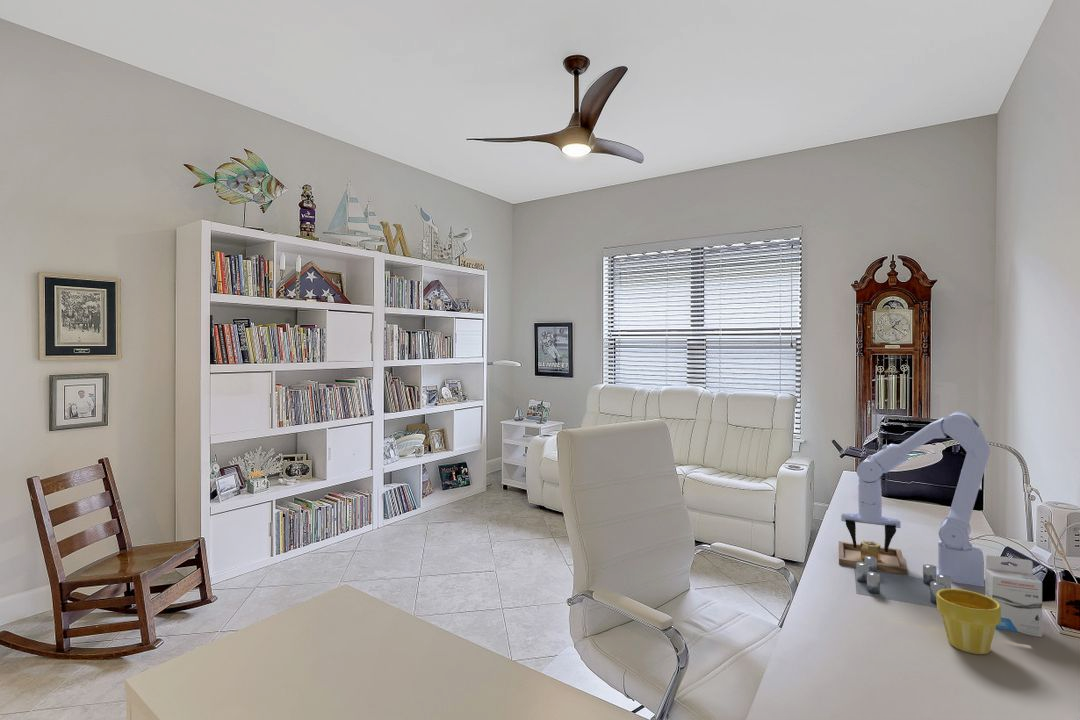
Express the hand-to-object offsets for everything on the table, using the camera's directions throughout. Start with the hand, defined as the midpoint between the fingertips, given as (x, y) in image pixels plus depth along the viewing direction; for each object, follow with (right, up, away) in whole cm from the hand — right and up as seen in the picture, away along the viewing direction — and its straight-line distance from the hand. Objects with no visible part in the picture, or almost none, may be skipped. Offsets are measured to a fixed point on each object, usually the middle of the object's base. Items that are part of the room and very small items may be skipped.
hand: (870, 548), depth 156 cm
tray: (0, -4, 0) cm, 4 cm away
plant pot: (-7, -4, -45) cm, 46 cm away
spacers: (-3, -4, -19) cm, 19 cm away
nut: (0, -3, 0) cm, 3 cm away
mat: (-3, -4, -19) cm, 19 cm away
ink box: (+8, -4, -38) cm, 39 cm away
